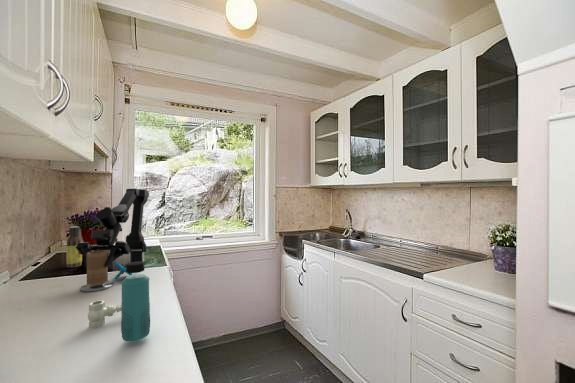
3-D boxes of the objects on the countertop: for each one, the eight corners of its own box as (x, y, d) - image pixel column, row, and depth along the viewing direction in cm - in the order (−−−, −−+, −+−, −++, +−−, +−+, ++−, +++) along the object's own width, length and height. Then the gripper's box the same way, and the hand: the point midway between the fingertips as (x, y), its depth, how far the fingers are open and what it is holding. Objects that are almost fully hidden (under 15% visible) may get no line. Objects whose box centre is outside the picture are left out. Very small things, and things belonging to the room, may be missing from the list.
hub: (76, 287, 110) (76, 276, 109) (108, 280, 118) (108, 270, 118) (84, 294, 102) (84, 282, 102) (117, 286, 110) (117, 275, 110)
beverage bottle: (154, 340, 71) (154, 262, 71) (125, 351, 66) (125, 267, 66) (144, 331, 75) (144, 258, 75) (116, 341, 70) (116, 262, 70)
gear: (136, 276, 119) (117, 261, 116) (125, 288, 116) (105, 273, 113) (134, 273, 128) (116, 259, 125) (124, 284, 125) (105, 270, 122)
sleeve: (83, 284, 108) (83, 253, 108) (99, 279, 114) (99, 249, 114) (94, 286, 106) (94, 254, 106) (111, 280, 112) (111, 251, 112)
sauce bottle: (81, 267, 139) (81, 227, 138) (65, 268, 135) (65, 228, 135) (82, 264, 144) (82, 225, 144) (67, 265, 141) (67, 226, 141)
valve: (90, 332, 75) (138, 318, 84) (90, 308, 75) (138, 296, 84) (85, 324, 80) (131, 311, 88) (85, 301, 80) (131, 290, 88)
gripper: (78, 222, 113) (59, 256, 102) (126, 222, 115) (113, 255, 104) (90, 238, 121) (73, 271, 110) (135, 237, 123) (123, 270, 112)
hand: (95, 266), depth 109 cm, fingers closed on sleeve, 7 cm apart
